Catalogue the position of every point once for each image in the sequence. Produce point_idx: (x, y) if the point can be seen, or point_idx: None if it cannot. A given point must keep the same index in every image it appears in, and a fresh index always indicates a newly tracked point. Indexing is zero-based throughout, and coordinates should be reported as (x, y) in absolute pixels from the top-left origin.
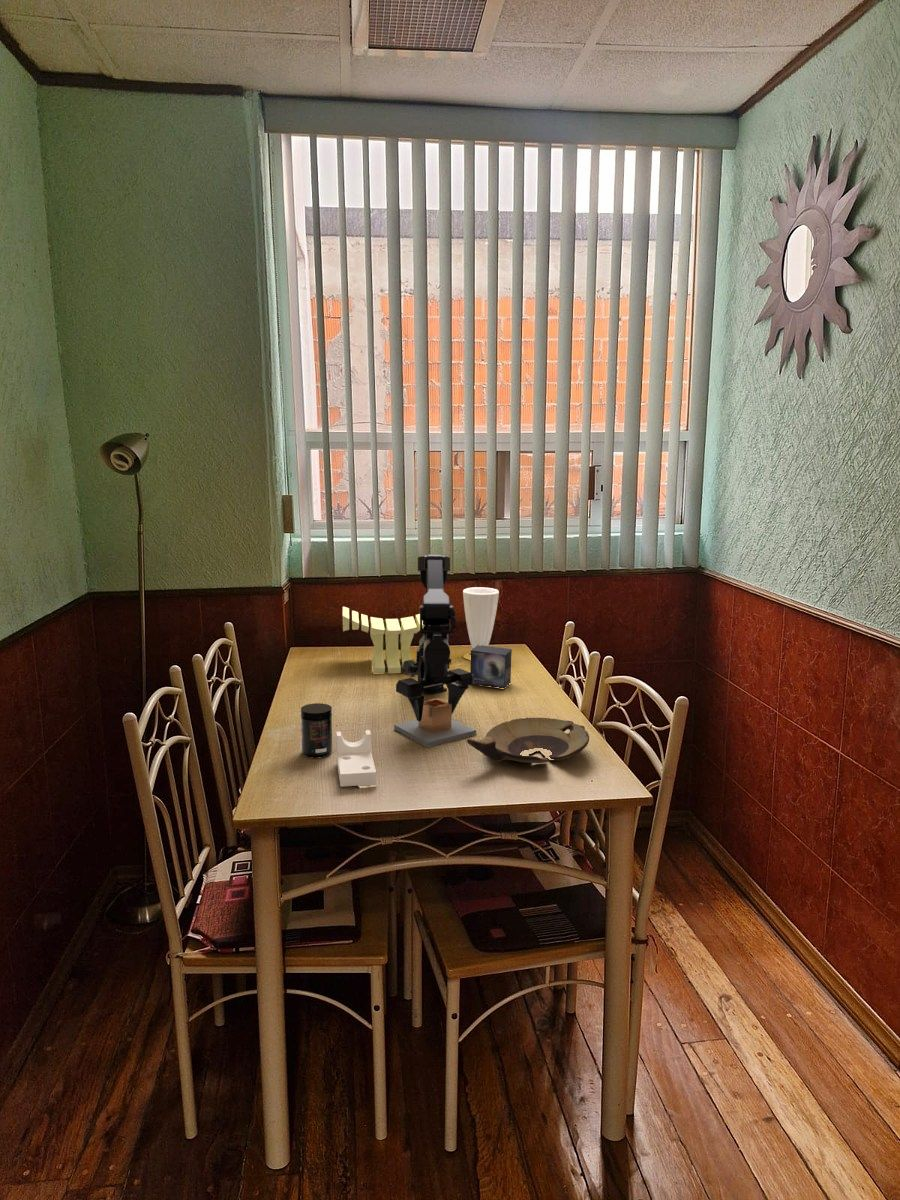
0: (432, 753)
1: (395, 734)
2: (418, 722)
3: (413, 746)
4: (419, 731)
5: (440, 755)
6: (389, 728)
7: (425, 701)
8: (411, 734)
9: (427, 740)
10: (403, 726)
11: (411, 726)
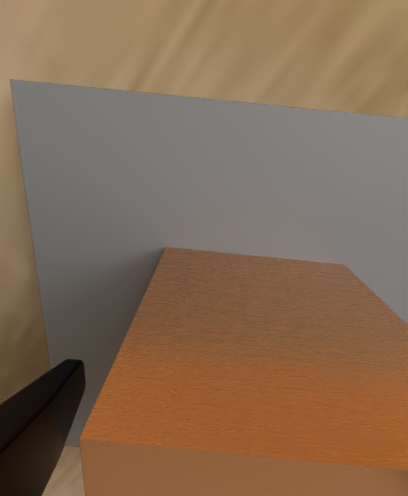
0: (59, 463)
1: (4, 184)
2: (219, 183)
3: (21, 376)
4: (110, 323)
5: (77, 487)
6: (14, 39)
7: (214, 484)
8: (46, 318)
9: (74, 431)
10: (61, 179)
11: (117, 219)
